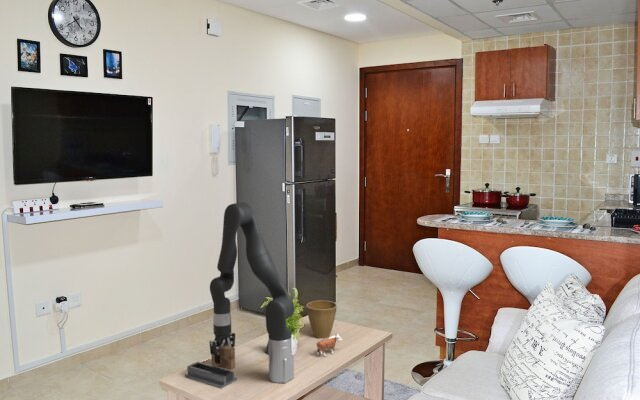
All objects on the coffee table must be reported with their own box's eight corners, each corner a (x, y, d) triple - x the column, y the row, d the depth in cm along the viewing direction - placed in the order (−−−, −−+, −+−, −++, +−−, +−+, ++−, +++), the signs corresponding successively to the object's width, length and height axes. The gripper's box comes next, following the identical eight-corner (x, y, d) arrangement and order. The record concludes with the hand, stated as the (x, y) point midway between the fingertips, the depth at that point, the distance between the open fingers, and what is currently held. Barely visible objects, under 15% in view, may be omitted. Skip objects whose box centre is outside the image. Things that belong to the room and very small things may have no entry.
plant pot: (304, 332, 280) (304, 301, 279) (333, 330, 283) (333, 299, 281) (309, 342, 266) (309, 309, 264) (339, 340, 268) (339, 308, 267)
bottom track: (236, 380, 224) (236, 370, 223) (221, 388, 216) (221, 378, 216) (200, 369, 234) (200, 360, 234) (184, 377, 227) (184, 367, 226)
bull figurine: (343, 352, 253) (343, 334, 252) (319, 358, 246) (319, 340, 245) (337, 349, 257) (337, 332, 256) (313, 355, 249) (313, 338, 248)
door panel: (235, 368, 235) (234, 347, 235) (231, 370, 233) (230, 349, 232) (215, 363, 241) (215, 343, 240) (211, 365, 239) (211, 344, 238)
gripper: (217, 328, 227) (218, 368, 229) (240, 319, 239) (240, 356, 241) (203, 325, 231) (204, 364, 233) (227, 316, 243) (227, 353, 245)
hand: (223, 360), depth 237 cm, fingers open, 6 cm apart
